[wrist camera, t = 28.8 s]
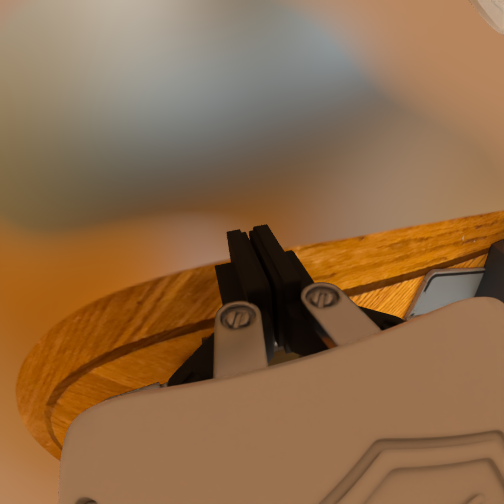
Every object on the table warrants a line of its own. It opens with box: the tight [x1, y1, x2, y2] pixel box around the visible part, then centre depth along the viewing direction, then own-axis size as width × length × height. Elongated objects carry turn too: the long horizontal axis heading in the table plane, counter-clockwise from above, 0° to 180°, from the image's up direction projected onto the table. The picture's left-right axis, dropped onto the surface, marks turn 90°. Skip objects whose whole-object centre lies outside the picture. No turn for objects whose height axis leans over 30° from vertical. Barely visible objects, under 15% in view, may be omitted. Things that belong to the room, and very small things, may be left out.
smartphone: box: [403, 267, 485, 320], centre depth 27 cm, size 7×1×15 cm
